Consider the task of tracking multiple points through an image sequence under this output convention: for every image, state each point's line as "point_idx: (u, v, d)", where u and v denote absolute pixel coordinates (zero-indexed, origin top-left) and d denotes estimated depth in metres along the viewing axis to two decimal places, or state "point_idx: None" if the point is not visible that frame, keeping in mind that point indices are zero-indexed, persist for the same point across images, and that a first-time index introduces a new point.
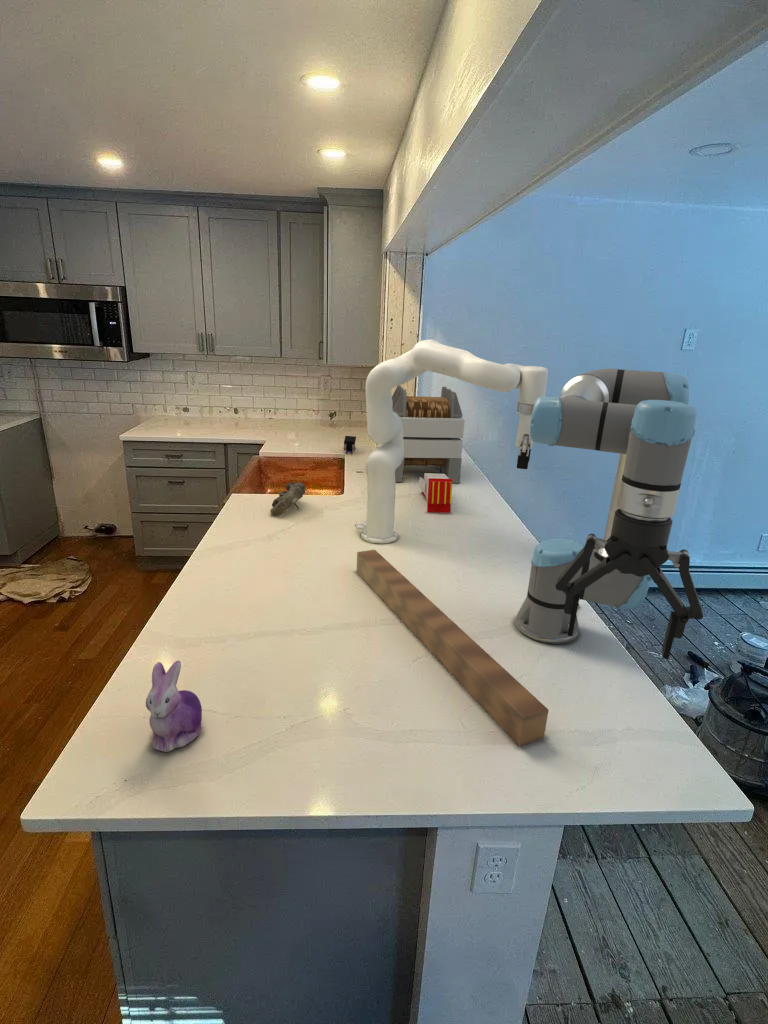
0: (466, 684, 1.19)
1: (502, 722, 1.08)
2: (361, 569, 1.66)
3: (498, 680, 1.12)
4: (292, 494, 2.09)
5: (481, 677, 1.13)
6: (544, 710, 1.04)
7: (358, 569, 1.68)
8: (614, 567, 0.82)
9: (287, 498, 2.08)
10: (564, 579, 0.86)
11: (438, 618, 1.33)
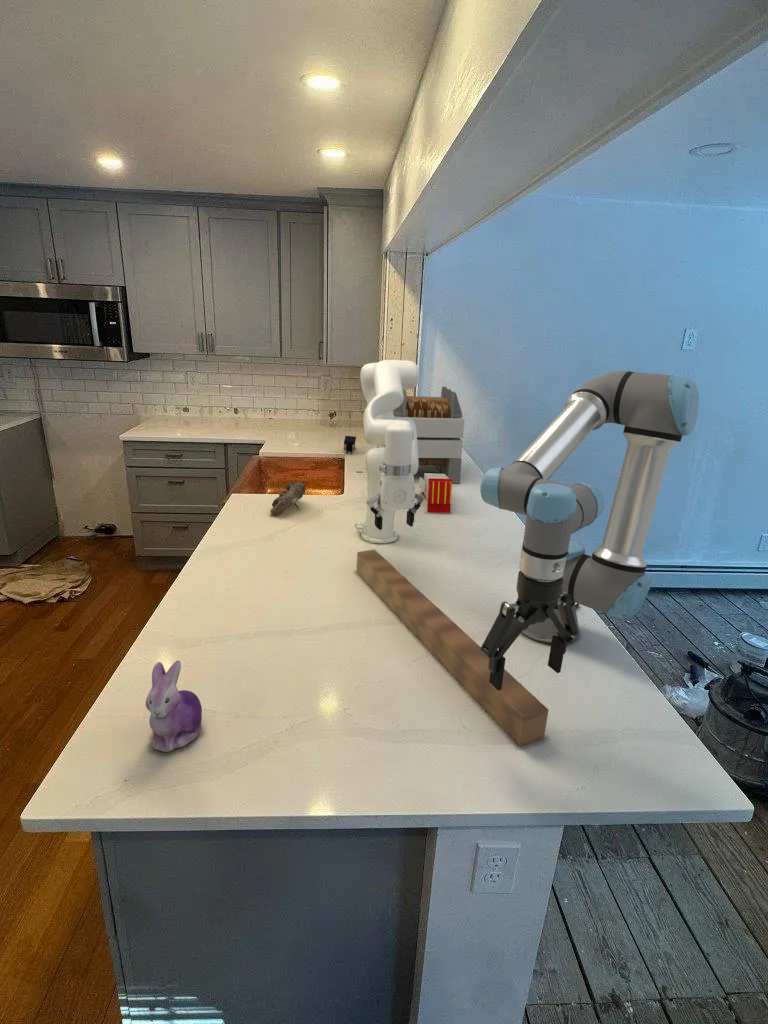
0: (466, 684, 1.19)
1: (502, 722, 1.08)
2: (361, 569, 1.66)
3: None
4: (292, 494, 2.09)
5: (481, 677, 1.13)
6: (544, 710, 1.04)
7: (358, 569, 1.68)
8: (529, 623, 0.98)
9: (287, 498, 2.08)
10: (494, 647, 0.97)
11: (438, 618, 1.33)
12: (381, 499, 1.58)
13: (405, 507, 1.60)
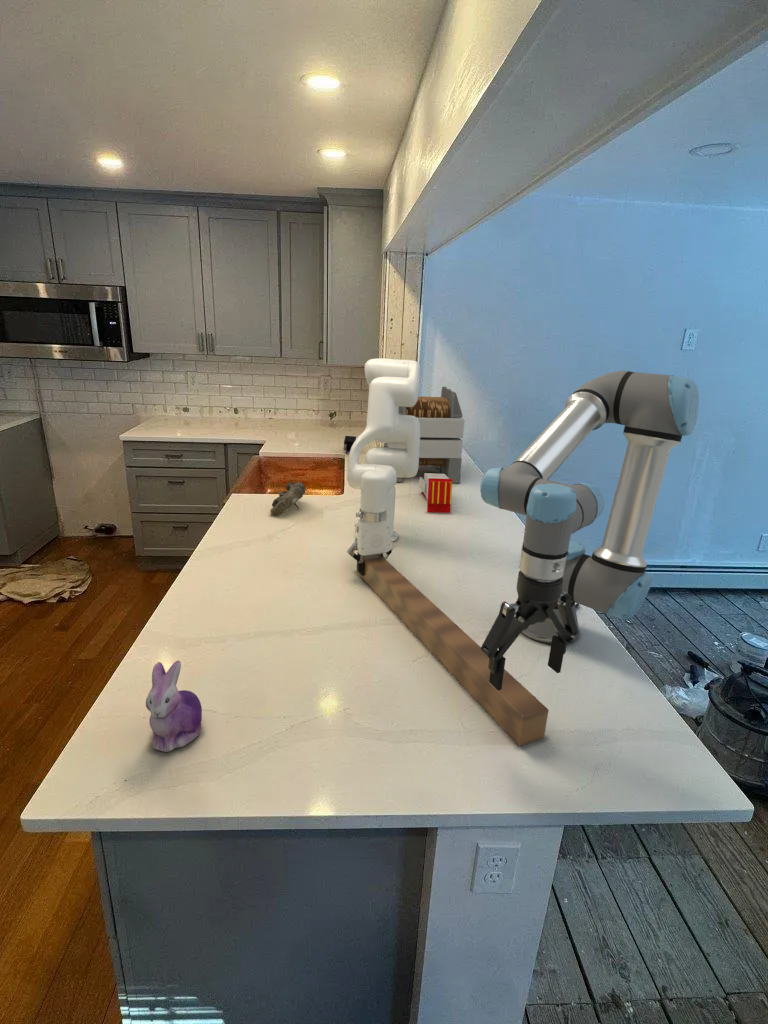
0: (467, 684, 1.19)
1: (502, 722, 1.08)
2: None
3: None
4: (292, 494, 2.09)
5: (481, 677, 1.13)
6: (544, 710, 1.04)
7: None
8: (529, 623, 0.98)
9: (287, 498, 2.08)
10: (494, 647, 0.97)
11: (438, 618, 1.33)
12: (358, 544, 1.60)
13: (382, 551, 1.63)
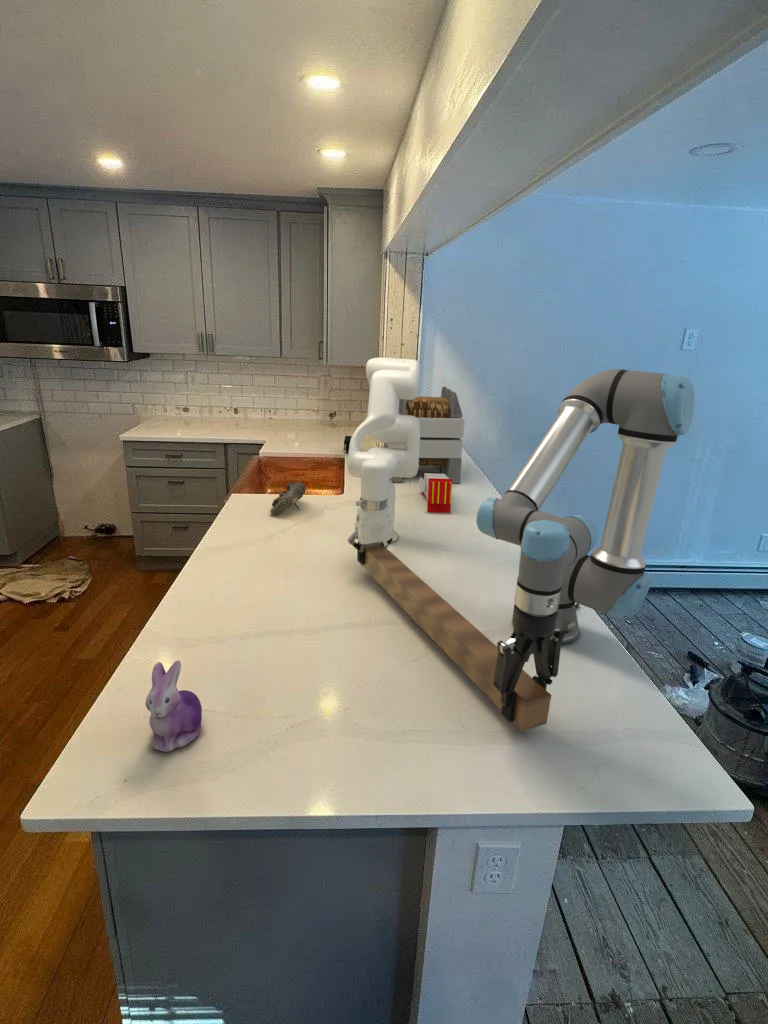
0: (469, 670, 1.18)
1: None
2: None
3: None
4: (292, 494, 2.09)
5: (484, 663, 1.13)
6: (547, 695, 1.04)
7: None
8: (525, 655, 1.01)
9: (287, 498, 2.08)
10: (504, 684, 1.01)
11: (439, 606, 1.33)
12: (358, 533, 1.59)
13: (382, 540, 1.62)
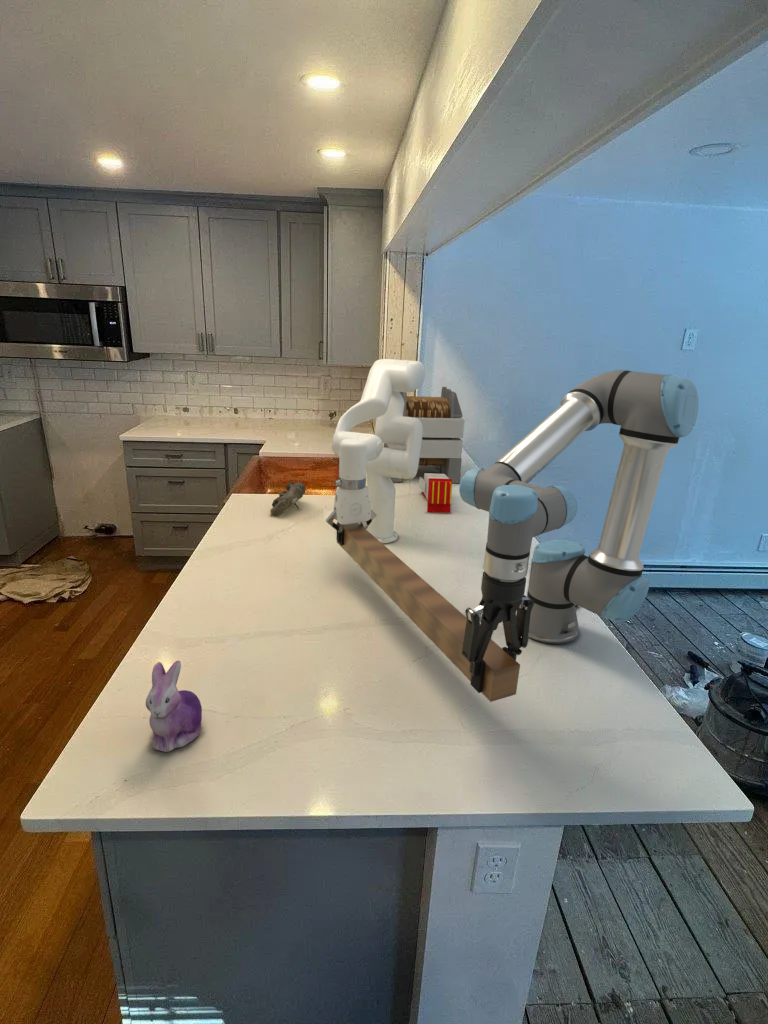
0: (440, 644, 1.17)
1: None
2: None
3: None
4: (292, 494, 2.09)
5: (454, 635, 1.11)
6: (515, 665, 1.02)
7: None
8: (493, 622, 0.99)
9: (287, 498, 2.08)
10: (472, 652, 1.00)
11: (414, 582, 1.32)
12: (337, 513, 1.58)
13: (361, 520, 1.61)
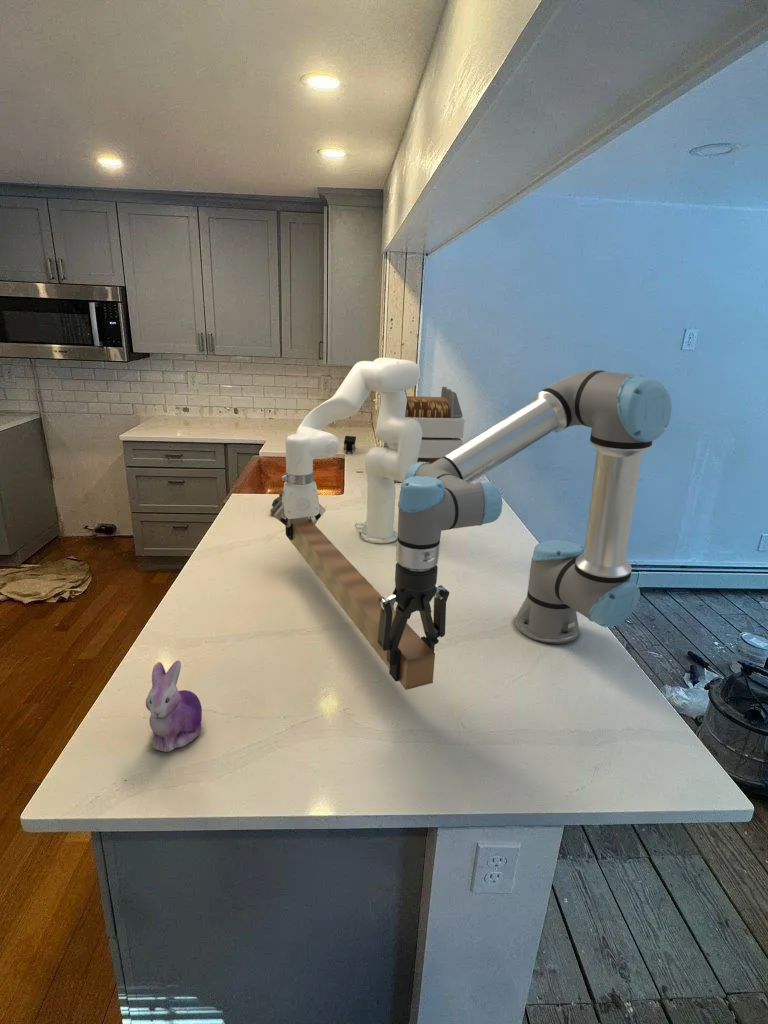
0: (367, 634, 1.19)
1: None
2: None
3: None
4: None
5: (377, 625, 1.13)
6: (430, 654, 1.04)
7: None
8: (406, 611, 1.01)
9: None
10: (386, 640, 1.02)
11: (349, 574, 1.33)
12: (284, 508, 1.60)
13: (309, 515, 1.63)
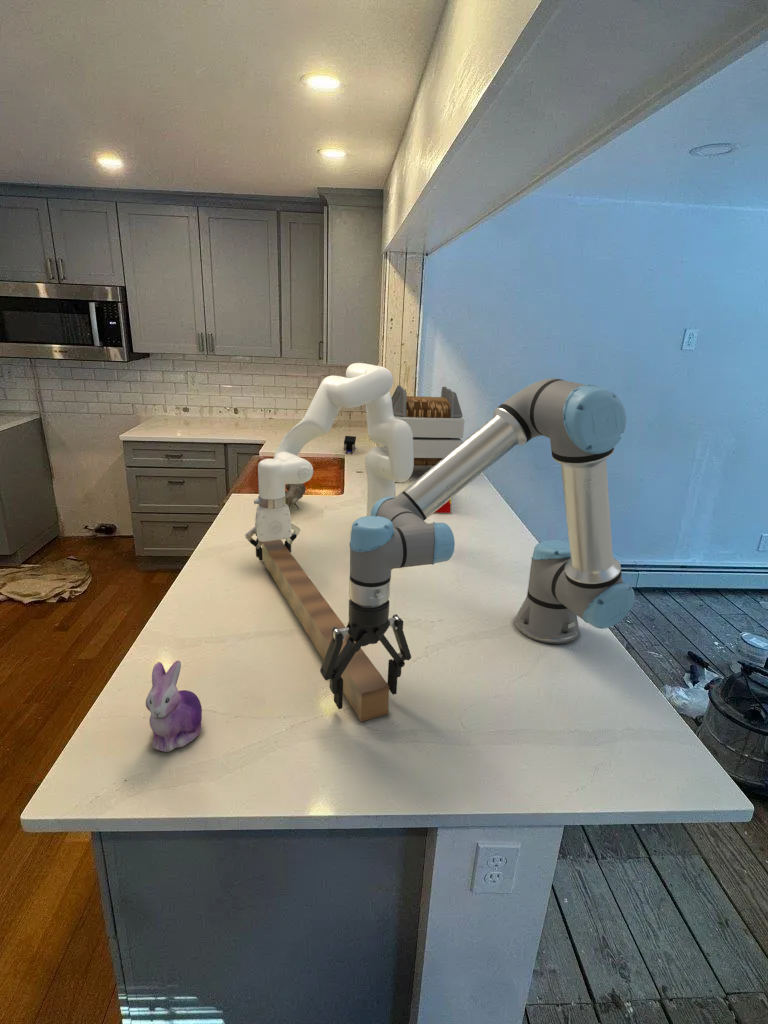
0: None
1: (350, 699, 1.12)
2: (265, 558, 1.70)
3: (351, 659, 1.16)
4: (292, 494, 2.09)
5: None
6: (385, 687, 1.08)
7: (263, 558, 1.72)
8: (359, 645, 1.05)
9: (287, 498, 2.08)
10: (329, 670, 1.05)
11: (316, 603, 1.38)
12: (257, 531, 1.64)
13: (282, 537, 1.67)
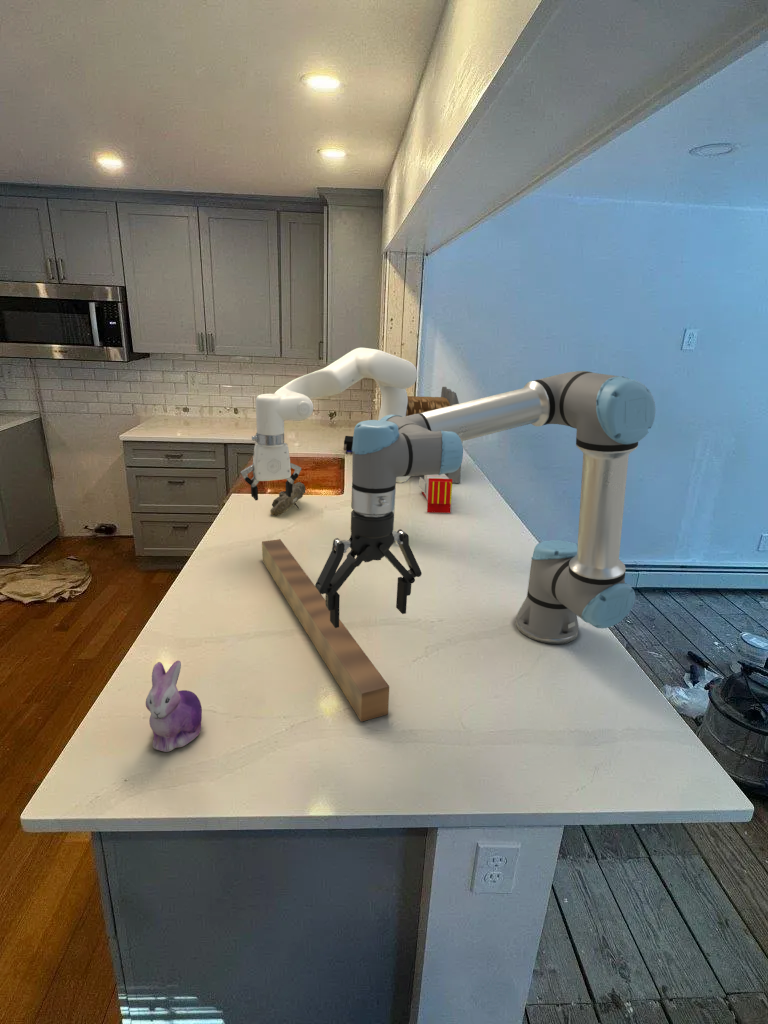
0: (329, 664, 1.23)
1: (350, 699, 1.12)
2: (265, 558, 1.70)
3: (351, 659, 1.16)
4: (292, 494, 2.09)
5: (337, 657, 1.17)
6: (385, 687, 1.08)
7: (263, 558, 1.72)
8: (362, 559, 0.99)
9: (287, 498, 2.08)
10: (325, 583, 0.98)
11: (316, 603, 1.38)
12: (255, 469, 1.58)
13: (280, 477, 1.60)
